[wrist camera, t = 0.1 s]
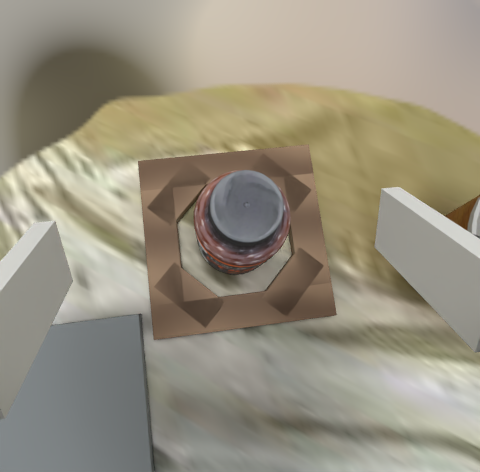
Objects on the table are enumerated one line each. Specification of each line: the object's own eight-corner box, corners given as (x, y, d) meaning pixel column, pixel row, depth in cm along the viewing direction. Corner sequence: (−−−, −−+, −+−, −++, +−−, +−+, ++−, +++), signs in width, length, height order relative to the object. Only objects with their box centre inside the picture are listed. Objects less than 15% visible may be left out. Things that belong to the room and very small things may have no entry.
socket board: (331, 314, 30) (336, 315, 29) (156, 338, 29) (153, 339, 28) (305, 150, 33) (308, 144, 32) (141, 166, 32) (138, 161, 30)
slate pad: (157, 510, 27) (155, 518, 26) (-47, 545, 26) (-58, 555, 25) (141, 313, 30) (138, 314, 29) (-48, 338, 28) (-58, 339, 27)
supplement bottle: (199, 277, 30) (190, 264, 19) (196, 205, 31) (186, 152, 20) (273, 273, 31) (306, 258, 20) (268, 202, 32) (297, 149, 21)
